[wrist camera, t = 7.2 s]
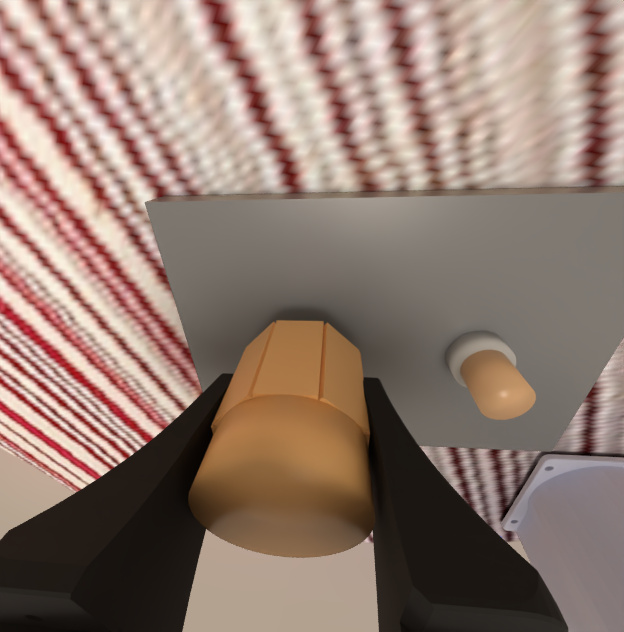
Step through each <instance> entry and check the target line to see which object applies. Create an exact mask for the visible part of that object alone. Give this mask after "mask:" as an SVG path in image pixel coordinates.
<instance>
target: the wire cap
mask: <svg viewBox="0 0 624 632" xmlns="http://www.w3.org/2000/svg"><path fill="white" fill-rule="evenodd" d="M363 380H364V378H363V369H362V361H361V353H360V352H359V349H358V348H357V347H355V346H354V345H353V344H352V343H351V342H350V341H348V340H347V339H346V338H345V337H344V336H343V335H341V334H340V333H339V332H338V331H337V330H336V329H334V328H333V327H332V326H331V325H330V324H329V323H328V322H327V323H326V324H325V325H324V321H286V320H277V321H276V323H275V322H272V323H271V324H270V325H269V326H268V327H267V328H266V329H265V330H264V331H263V332H262V333H261V334H260V335H259V336H258V337H257V338H255V339H254V340H253V341H252V342H251V343H250V344H249V345H248V346H247V347H246V348H245V351H244V353H243V355H242V357H241V360H240V362H239V364H238V366H237V369H236V371H235V373H234V375H233V378H232V380H231V382H230V384H229V387H228V389H227V391H226V393H225V396H224V398H223V400H222V402H221V405H220V407H219V409H218V411H217V413H216V416H215V418H214V420H213V422H212V426H211V429H212V432H213V437H212V439H211V442H210V444H209V446H208V449H207V451H206V454H205V456H204V458H203V461H202V463H201V465H200V468H199V470H198V472H197V475H196V477H195V479H194V482H193V484H192V487H191V489H190V491H189V497H188V501H189V506H190V509H191V511H192V513H193V515H194V517H195V518H196V519H197V520H198V521H199V523H200V524H201V525H203V526H204V527H205V528H206V529H207V530H209V531H210V532H211V533H213V534H215V535H216V536H218V537H219V538H221V539H223V540H225V541H227V542H229V543H231V544H234V545H236V546H239V547H242V548H244V549H248V550H251V551H255V552H259V553H264V554H268V555H274V556H282V557H297V558H299V557H301V558H305V557H320V556H326V555H332V554H336V553H340V552H343V551H346V550H348V549H351V548H353V547H355V546H356V545H358V544H360V543H361V542H362V541H364V540H365V539H366V538H367V537H368V536H369V535H370V533H371V532H372V530H373V527H374V524H375V511H374V501H373V492H372V482H371V473H370V463H369V453H368V447H369V438H370V430H369V421H368V413H367V405H366V401H365V396H364V388H363Z"/></svg>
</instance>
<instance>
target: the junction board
mask: <svg viewBox="0 0 624 632" xmlns="http://www.w3.org/2000/svg"><path fill="white" fill-rule="evenodd" d="M145 205H146V208H147V212H148V215H149V218H150V221H151V225H152V228H153V231H154V235H155V238H156V241H157V244H158V248H159V251H160V254H161V257H162V261H163V264H164V267H165V270H166V274H167V277H168V280H169V283H170V287H171V290H172V293H173V296H174V300H175V303H176V306H177V310H178V313H179V316H180V319H181V323H182V326H183V329H184V332H185V336H186V339H187V342H188V345H189V349H190V352H191V355H192V358H193V362H194V365H195V368H196V372H197V375H198V378H199V381H200V385H201V388H202V391H203V392H204V391H205V390H206V389H207V388H208V387H209V386H210V385H211V384H212V383H213V382H214V381H215V380H216V379H217V378H218V377H219V376H220V375H221V374H222V373H229V374H234V373H235V371H236V369H237V366H238V364H239V362H240V360H241V357H242V355H243V353H244V351H245V348H246V347H247V346H248V345H249V344H250V343H251V342H252V341H253V340H254V339H255V338H257V337H258V336H259V335H260V334H261V333H262V332H263V331H264V330H265V329H266V328H267V327H268V326H269V325H270V324H271V323H272V322H275V323H276V321H277V320H286V321H324V325H325V324H326V323H327V322H328V323H329V324H330V325H331V326H332V327H333V328H334V329H336V330H337V331H338V332H339V333H340V334H341V335H343V336H344V337H345V338H346V339H347V340H348V341H350V342H351V343H352V344H353V345H354V346H355V347H357V348H358V349H359V352H360V353H361V361H362V369H363V377H373V378H379V379H380V381H381V383H382V385H383V387H384V390H385V392H386V394H387V396H388V397H389V399H390V401H391V403H392V405H393V407H394V408H395V410H396V412H397V413H398V415H399V417H400V418H401V420H402V421H403V423H404V425H405V426H406V428H407V429H408V431H409V432H410V434H411V435H412V437H413V438H414V439H415V441H416V442H417V444H418V445H419V446H437V447H459V448H481V449H503V450H525V451H547V452H552V450H553V449H554V447H555V445H556V444H557V442H558V441H559V439H560V437H561V436H562V434H563V433H564V431H565V430H566V428H567V426H568V425H569V423H570V422H571V420H572V418H573V417H574V415H575V414H576V412H577V411H578V409H579V407H580V406H581V404H582V403H583V401H584V399H585V398H586V396H587V395H588V393H589V392H590V390H591V388H592V387H593V385H594V384H595V382H596V380H597V379H598V377H599V376H600V374H601V373H602V371H603V369H604V368H605V366H606V365H607V363H608V361H609V360H610V358H611V357H612V355H613V354H614V352H615V350H616V349H617V347H618V346H619V344H620V342H621V341H622V339H623V338H624V186H605V187H559V188H514V189H468V190H423V191H377V192H331V193H286V194H240V195H194V196H163V197H160V198H157V199H153V200H150V201H147V202H145Z"/></svg>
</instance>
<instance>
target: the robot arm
mask: <svg viewBox="0 0 624 632" xmlns="http://www.w3.org/2000/svg"><path fill="white" fill-rule="evenodd" d="M233 375H234V374H229V373H222V374H221V375H220V376H219V377H218V378H217V379H216V380H215V381H214V382H213V383H212V384H211V385H210V386H209V387H208V388H207V389H206V390H205V391H204V392H203V393H202V394H201V395H200V396H199V397H198V398H197V399H196V400H195V401H194V402H193V403H192V404H191V405H190V406H189V407H188V408H187V409H186V410H185V411H184V412H183V413H182V414H181V415H180V416H178V417H177V418H176V419H175V420H174V421H173V422H172V423H171V424H170V425H168V426H167V427H166V428H165V429H164V430H163V431H162V432H161V433H159V434H158V435H157V436H156V437H155V438H153V439H152V440H151V441H150V442H149V443H147V444H146V445H145V446H143V447H142V448H141V449H139V450H138V451H137V452H136V453H134V454H133V455H132V456H130V457H129V458H127V459H126V460H125V461H123V462H122V463H120V464H119V465H117V466H116V467H115V468H113V469H112V470H110V471H109V472H107V473H106V474H105V475H103V476H102V477H100V478H99V479H97V480H95V481H94V482H92V483H91V484H89V485H88V486H86V487H85V488H83V489H81V490H80V491H78V492H76V493H75V494H73V495H71V496H70V497H68V498H67V499H65V500H63V501H61V502H60V503H58V504H56V505H55V506H53V507H51V508H50V509H48V510H46V511H44V512H42V513H40V514H38V515H37V516H35V517H33V518H31V519H29V520H28V521H26V522H24V523H22V524H20V525H19V526H17V527H15V528H13V529H11V530H9V531H8V532H7V533H6V534H5V535H4V537H3V538H2V539H1V540H0V632H182V630H183V625H184V620H185V616H186V611H187V606H188V602H189V597H190V592H191V588H192V584H193V580H194V575H195V571H196V567H197V563H198V558H199V554H200V550H201V547H202V543H203V539H204V535H205V531H206V528H205V527H204V526H203V525H201V524H200V523H199V521H198V520H197V519H196V518H195V517H194V515H193V513H192V511H191V509H190V506H189V501H188V497H189V491H190V489H191V487H192V484H193V482H194V479H195V477H196V475H197V472H198V470H199V468H200V465H201V463H202V461H203V458H204V456H205V454H206V451H207V449H208V446H209V444H210V442H211V439H212V437H213V432H212V429H211V426H212V422H213V420H214V418H215V416H216V413H217V411H218V409H219V407H220V405H221V402H222V400H223V398H224V396H225V393H226V391H227V389H228V387H229V384H230V382H231V380H232V378H233ZM363 378H364V380H363V388H364V396H365V401H366V405H367V413H368V421H369V430H370V438H369V447H368V453H369V463H370V473H371V482H372V492H373V501H374V511H375V524H374V527H373V541H374V555H375V571H376V586H377V604H378V622H379V632H624V457H602V456H580V455H558V454H547V455H544V456H542V457H541V459H540V460H539V462H538V464H537V465H536V467H535V469H534V470H533V472H532V473H531V475H530V477H529V478H528V480H527V482H526V483H525V485H524V487H523V488H522V490H521V491H520V493H519V495H518V496H517V498H516V500H515V501H514V503H513V504H512V506H511V508H510V509H509V511H508V513H507V514H506V516H505V518H504V519H503V521H502V522H501V525H502V527H503V529H504V530H507V531H516V532H517V535H518V537H519V539H520V541H521V543H522V545H523V548H524V550H525V552H526V554H527V556H528V558H529V561H530V563H531V564H529V563H528V562H527V561H526V560H525V559H524V558H523V557H521V555H520V554H518V553H517V552H516V551H515V550H514V549H513V548H512V547H511V546H510V545H509V544H508V543H507V542H506V541H504V540H503V539H502V538H501V537H500V536H499V535H498V534H497V533H496V532H495V531H494V530H493V529H492V528H491V527H490V526H489V525H488V524H487V523H486V522H485V521H484V520H483V519H482V518H481V517H480V516H479V515H478V514H477V513H476V512H475V511H474V510H473V509H472V508H471V507H470V506H469V504H468V503H467V502H466V501H465V500H464V499H463V498H462V497H461V496H460V495H459V494H458V493H457V492H456V491H455V489H454V488H453V487H452V486H451V485H450V484H449V483H448V482H447V480H446V479H445V478H444V477H443V476H442V475H441V473H440V472H439V471H438V470H437V469H436V467H435V466H434V465H433V464H432V462H431V461H430V460H429V459H428V457H427V456H426V455H425V453H424V452H423V451H422V449H421V448H420V447H419V445H418V444H417V442H416V441H415V439H414V438H413V437H412V435H411V434H410V432H409V431H408V429H407V428H406V426H405V425H404V423H403V421H402V420H401V418H400V417H399V415H398V413H397V412H396V410H395V408H394V407H393V405H392V403H391V401H390V399H389V397H388V396H387V394H386V392H385V390H384V387H383V385H382V383H381V381H380V379H379V378H373V377H363Z"/></svg>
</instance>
